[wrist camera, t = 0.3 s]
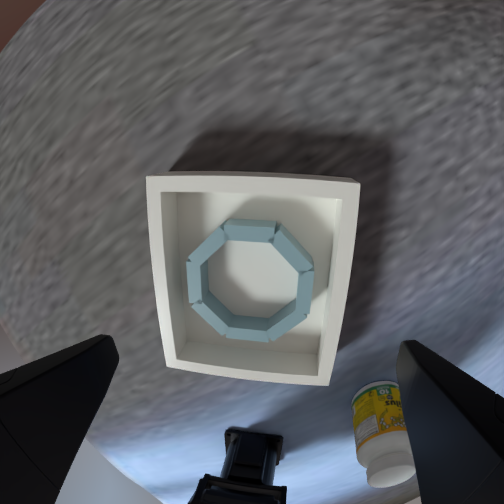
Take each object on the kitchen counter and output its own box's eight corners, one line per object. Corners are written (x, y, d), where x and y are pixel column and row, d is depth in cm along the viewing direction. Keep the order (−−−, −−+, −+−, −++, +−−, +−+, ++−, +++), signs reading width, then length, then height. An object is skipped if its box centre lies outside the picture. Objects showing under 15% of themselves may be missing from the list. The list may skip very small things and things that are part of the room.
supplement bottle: (339, 403, 26) (344, 485, 17) (378, 370, 24) (398, 454, 15) (375, 420, 26) (386, 494, 18) (413, 390, 25) (436, 466, 16)
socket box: (326, 358, 25) (328, 385, 21) (180, 342, 26) (166, 366, 23) (350, 177, 20) (360, 183, 16) (168, 171, 21) (146, 176, 18)
